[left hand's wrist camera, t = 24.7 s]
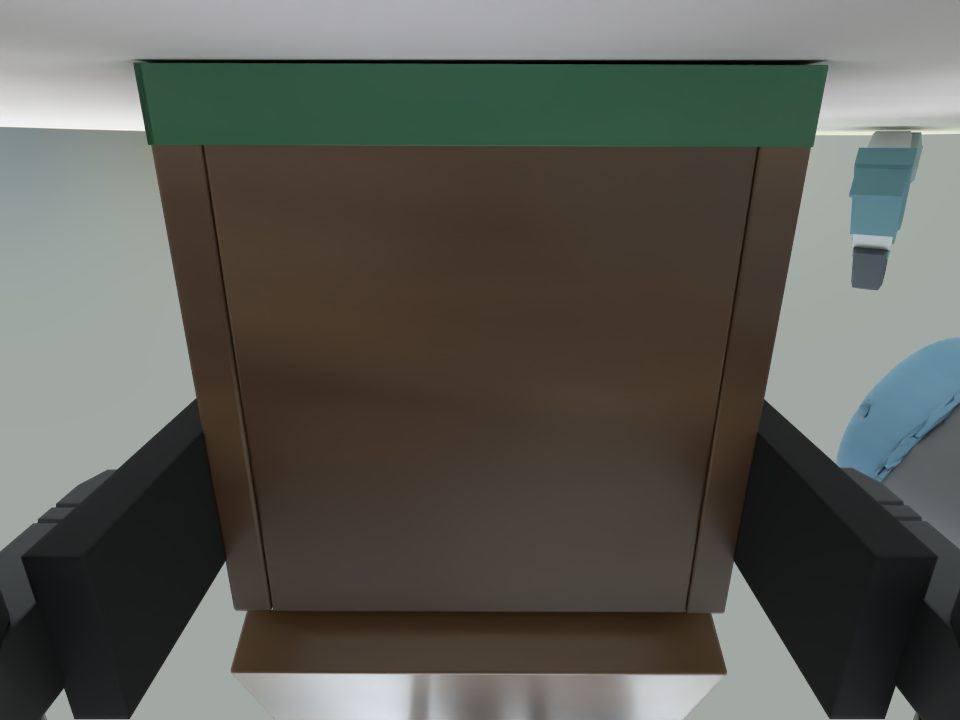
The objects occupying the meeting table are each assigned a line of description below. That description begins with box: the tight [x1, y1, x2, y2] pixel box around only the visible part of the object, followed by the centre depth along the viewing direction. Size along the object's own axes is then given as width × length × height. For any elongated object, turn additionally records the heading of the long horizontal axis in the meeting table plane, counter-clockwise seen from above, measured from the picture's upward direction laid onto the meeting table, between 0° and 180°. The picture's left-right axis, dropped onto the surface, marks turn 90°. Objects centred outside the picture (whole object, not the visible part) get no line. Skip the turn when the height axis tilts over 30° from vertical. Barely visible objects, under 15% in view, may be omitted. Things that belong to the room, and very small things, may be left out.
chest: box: [133, 63, 828, 613], centre depth 17 cm, size 16×10×10 cm, turn 0°
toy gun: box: [849, 131, 923, 290], centre depth 49 cm, size 4×19×10 cm
